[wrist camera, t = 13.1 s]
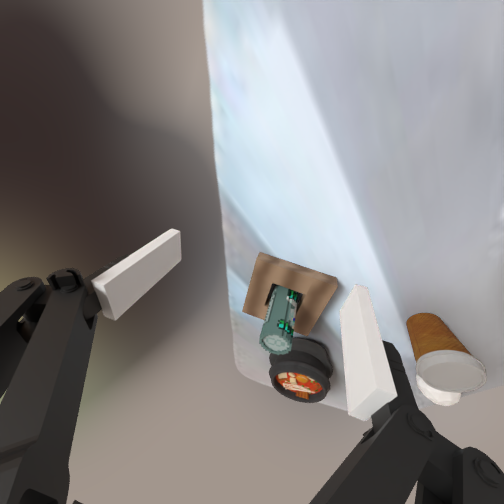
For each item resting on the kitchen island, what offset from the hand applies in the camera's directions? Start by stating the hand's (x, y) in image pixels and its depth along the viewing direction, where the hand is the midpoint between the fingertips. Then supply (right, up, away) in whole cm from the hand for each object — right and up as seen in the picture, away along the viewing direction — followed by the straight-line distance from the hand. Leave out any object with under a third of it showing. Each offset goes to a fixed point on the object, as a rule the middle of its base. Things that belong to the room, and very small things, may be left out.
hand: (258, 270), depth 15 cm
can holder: (+8, -9, +36) cm, 38 cm away
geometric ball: (+44, -28, +36) cm, 63 cm away
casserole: (+14, -32, +48) cm, 60 cm away
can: (+8, -9, +36) cm, 38 cm away
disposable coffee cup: (+37, -14, +30) cm, 50 cm away
